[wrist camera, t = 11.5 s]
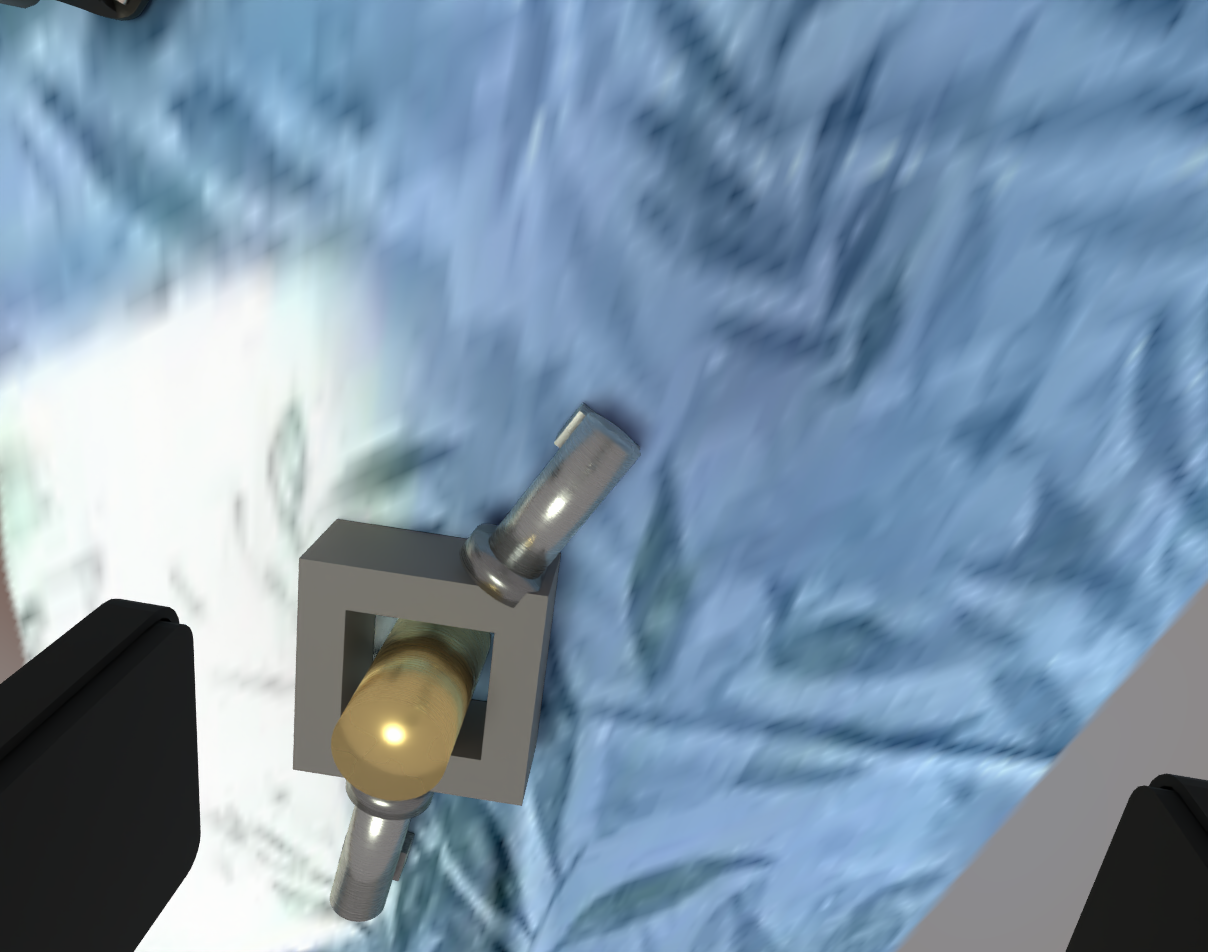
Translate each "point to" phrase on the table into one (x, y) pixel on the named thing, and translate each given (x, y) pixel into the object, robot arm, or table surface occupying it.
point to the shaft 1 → (373, 853)
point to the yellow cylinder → (409, 709)
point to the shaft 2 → (550, 508)
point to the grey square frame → (428, 594)
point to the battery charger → (96, 7)
